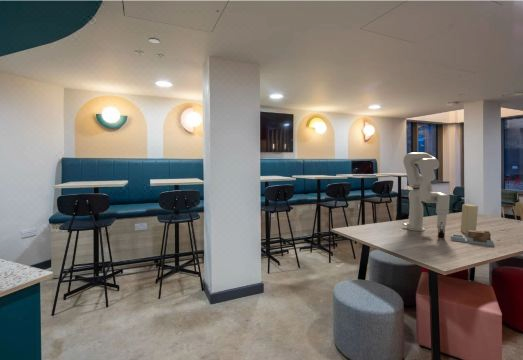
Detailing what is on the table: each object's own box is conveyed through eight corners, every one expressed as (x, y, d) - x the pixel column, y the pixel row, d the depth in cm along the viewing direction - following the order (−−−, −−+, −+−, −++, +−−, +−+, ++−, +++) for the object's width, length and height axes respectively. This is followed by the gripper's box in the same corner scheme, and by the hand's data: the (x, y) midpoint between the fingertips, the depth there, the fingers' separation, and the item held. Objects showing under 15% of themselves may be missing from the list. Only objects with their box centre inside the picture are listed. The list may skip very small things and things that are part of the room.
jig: (451, 240, 189) (451, 235, 189) (450, 237, 196) (451, 232, 196) (494, 246, 177) (494, 241, 176) (492, 242, 184) (492, 237, 184)
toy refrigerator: (477, 234, 202) (479, 206, 201) (465, 234, 204) (467, 205, 202) (471, 231, 210) (473, 204, 208) (460, 231, 211) (462, 204, 210)
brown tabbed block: (467, 240, 186) (468, 229, 185) (467, 238, 190) (467, 228, 189) (490, 242, 180) (490, 232, 179) (489, 241, 184) (489, 230, 183)
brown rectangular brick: (437, 238, 193) (438, 228, 193) (437, 237, 196) (438, 227, 196) (444, 239, 191) (445, 229, 190) (444, 238, 194) (445, 228, 194)
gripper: (436, 209, 201) (435, 233, 203) (435, 213, 187) (434, 239, 188) (448, 210, 197) (447, 235, 199) (449, 214, 183) (447, 241, 184)
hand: (441, 236), depth 194 cm, fingers open, 6 cm apart
